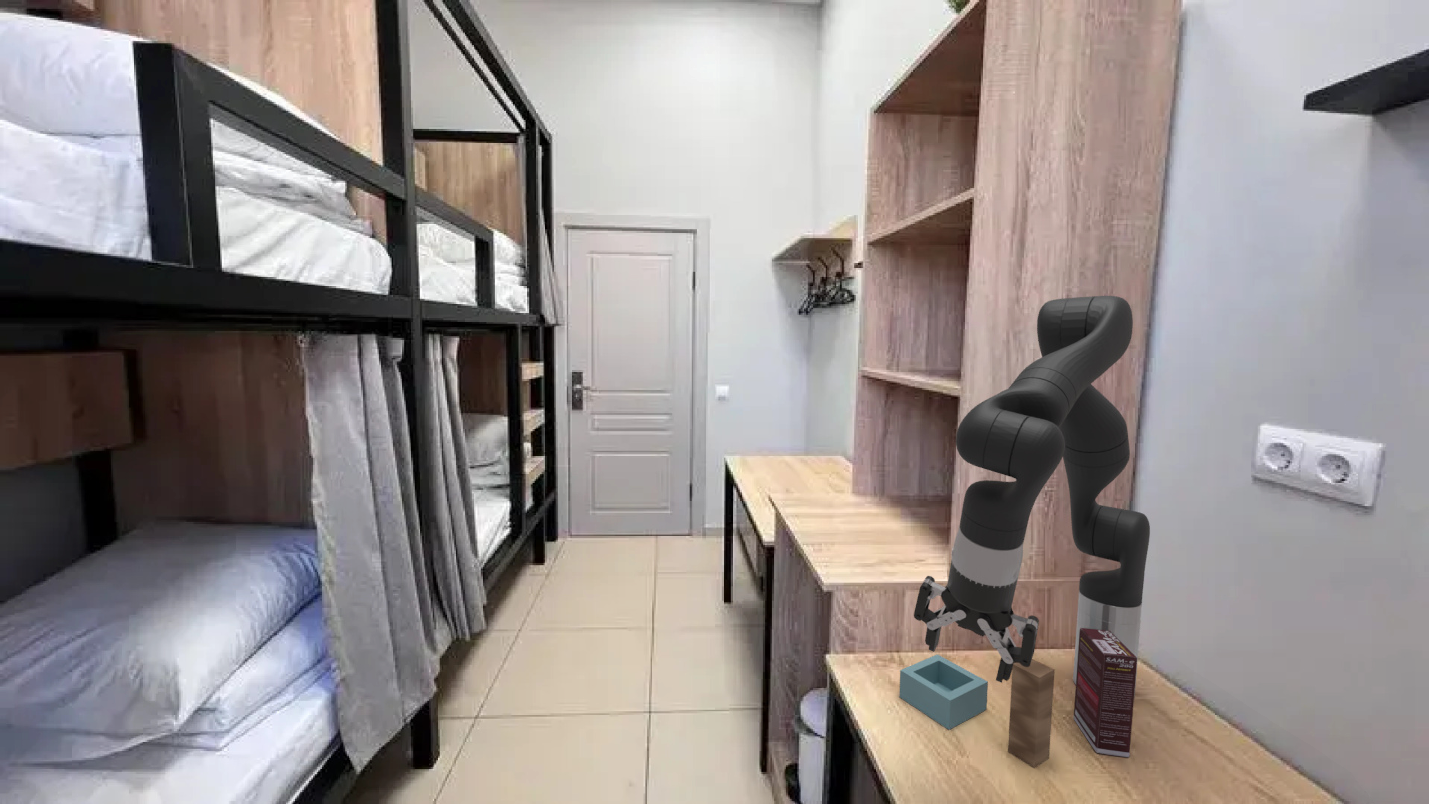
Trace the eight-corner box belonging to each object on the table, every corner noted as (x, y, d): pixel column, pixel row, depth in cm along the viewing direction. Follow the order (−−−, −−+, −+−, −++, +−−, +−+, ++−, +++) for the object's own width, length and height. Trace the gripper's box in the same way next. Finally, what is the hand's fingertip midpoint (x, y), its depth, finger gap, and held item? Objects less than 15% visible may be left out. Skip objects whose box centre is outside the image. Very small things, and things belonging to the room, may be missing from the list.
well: (899, 697, 99) (900, 670, 98) (936, 680, 104) (937, 654, 104) (948, 729, 90) (950, 700, 90) (986, 709, 95) (987, 681, 95)
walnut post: (1007, 751, 86) (1012, 664, 84) (1022, 742, 88) (1027, 656, 86) (1034, 768, 82) (1039, 677, 81) (1049, 758, 84) (1054, 669, 83)
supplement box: (1131, 759, 84) (1139, 658, 83) (1095, 754, 85) (1102, 654, 84) (1104, 721, 92) (1110, 629, 91) (1071, 717, 93) (1077, 626, 92)
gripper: (1055, 569, 68) (1030, 669, 74) (935, 528, 76) (921, 621, 82) (1044, 605, 62) (1018, 709, 68) (916, 557, 70) (903, 654, 76)
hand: (965, 661), depth 75 cm, fingers open, 8 cm apart
